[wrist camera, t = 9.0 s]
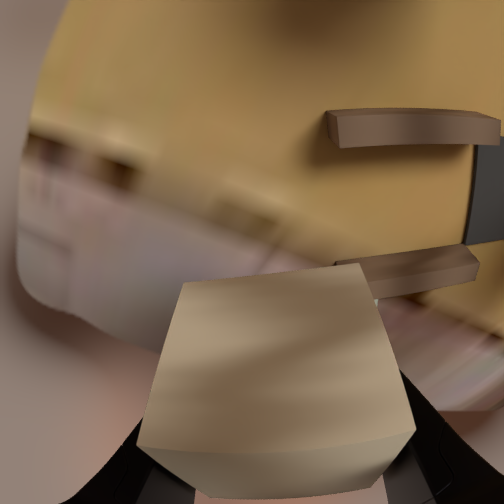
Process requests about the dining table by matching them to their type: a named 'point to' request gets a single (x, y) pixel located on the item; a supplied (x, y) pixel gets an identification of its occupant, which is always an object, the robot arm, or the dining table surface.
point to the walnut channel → (413, 132)
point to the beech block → (277, 387)
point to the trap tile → (487, 196)
